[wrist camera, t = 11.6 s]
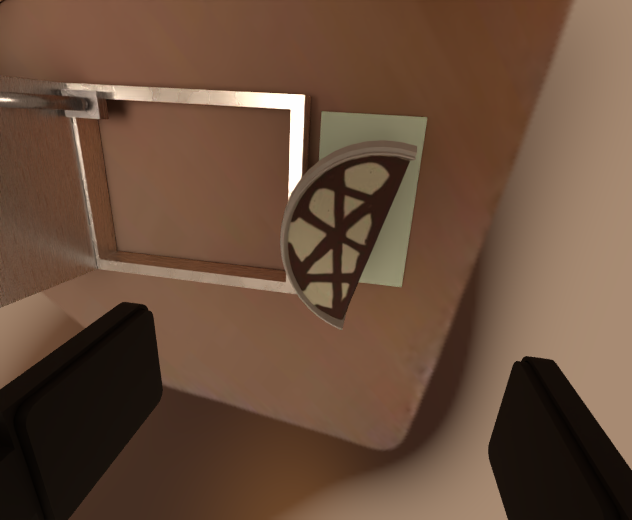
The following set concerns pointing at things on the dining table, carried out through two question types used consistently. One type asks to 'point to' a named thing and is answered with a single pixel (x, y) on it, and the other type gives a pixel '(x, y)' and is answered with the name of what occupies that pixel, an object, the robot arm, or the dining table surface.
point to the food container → (339, 222)
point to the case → (97, 185)
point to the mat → (395, 231)
